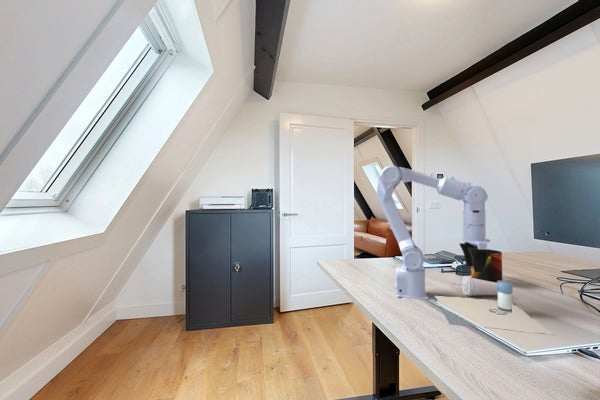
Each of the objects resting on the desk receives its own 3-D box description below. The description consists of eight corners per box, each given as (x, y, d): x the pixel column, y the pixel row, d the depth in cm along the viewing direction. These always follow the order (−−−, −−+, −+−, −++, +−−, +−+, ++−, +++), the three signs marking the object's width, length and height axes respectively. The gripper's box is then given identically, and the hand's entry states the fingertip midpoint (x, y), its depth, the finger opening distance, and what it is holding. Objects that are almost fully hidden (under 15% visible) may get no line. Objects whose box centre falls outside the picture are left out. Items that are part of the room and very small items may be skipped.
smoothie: (506, 289, 82) (456, 284, 84) (499, 303, 85) (452, 299, 87) (496, 274, 87) (450, 270, 90) (490, 288, 90) (446, 284, 93)
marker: (500, 312, 73) (500, 283, 73) (495, 308, 76) (495, 280, 76) (515, 314, 72) (515, 284, 72) (509, 309, 75) (509, 281, 75)
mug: (492, 277, 108) (492, 247, 108) (507, 288, 95) (506, 254, 95) (465, 275, 111) (465, 246, 111) (475, 285, 98) (475, 253, 98)
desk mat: (449, 325, 67) (449, 324, 67) (432, 295, 88) (432, 294, 88) (556, 336, 61) (556, 335, 61) (510, 301, 82) (510, 300, 82)
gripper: (499, 227, 74) (499, 276, 74) (480, 223, 88) (481, 264, 88) (470, 227, 76) (470, 274, 76) (456, 222, 90) (457, 262, 90)
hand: (474, 268), depth 82 cm, fingers open, 7 cm apart
